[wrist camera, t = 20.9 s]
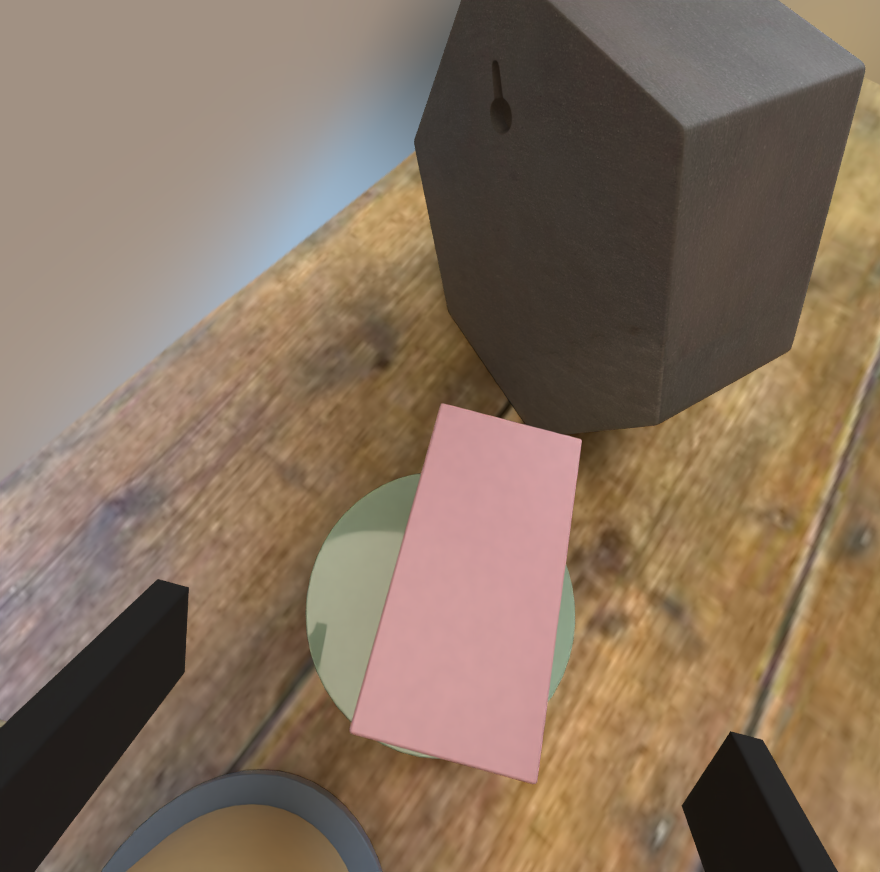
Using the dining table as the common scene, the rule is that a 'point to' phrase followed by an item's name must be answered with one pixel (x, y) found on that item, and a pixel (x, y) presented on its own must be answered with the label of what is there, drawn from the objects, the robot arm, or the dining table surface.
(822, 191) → the brown hexagonal block
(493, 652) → the cake slice
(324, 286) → the dining table surface
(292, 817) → the cake
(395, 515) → the plate
